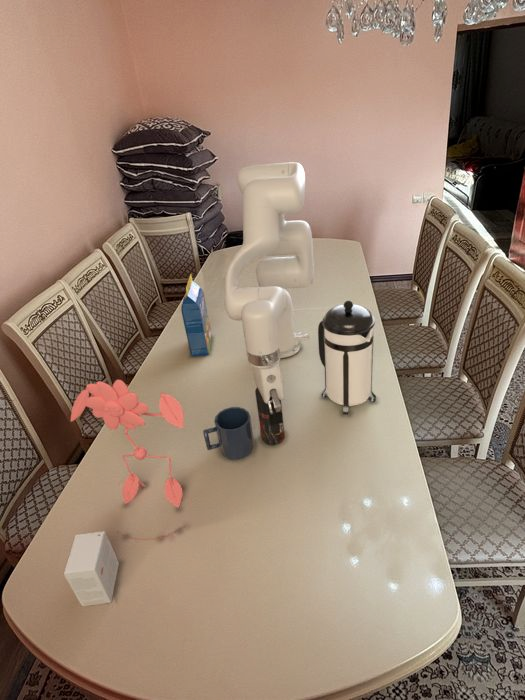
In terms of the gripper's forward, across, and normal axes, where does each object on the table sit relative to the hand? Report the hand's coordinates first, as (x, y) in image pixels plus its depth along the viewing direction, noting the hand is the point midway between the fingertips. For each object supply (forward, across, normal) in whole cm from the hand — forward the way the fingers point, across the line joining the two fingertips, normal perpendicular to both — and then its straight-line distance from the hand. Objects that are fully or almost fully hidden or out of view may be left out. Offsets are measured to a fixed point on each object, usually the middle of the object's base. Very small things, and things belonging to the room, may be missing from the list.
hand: (270, 410), depth 111 cm
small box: (+8, -27, +43) cm, 51 cm away
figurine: (+8, -13, +33) cm, 36 cm away
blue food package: (+10, +52, +10) cm, 54 cm away
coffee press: (+9, +7, -23) cm, 26 cm away
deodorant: (+8, -1, 0) cm, 9 cm away
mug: (+8, -1, +11) cm, 14 cm away
